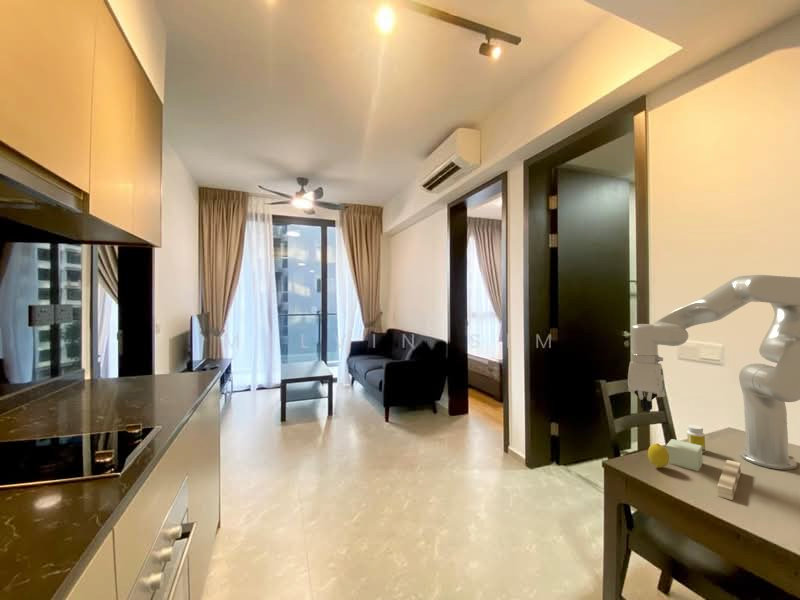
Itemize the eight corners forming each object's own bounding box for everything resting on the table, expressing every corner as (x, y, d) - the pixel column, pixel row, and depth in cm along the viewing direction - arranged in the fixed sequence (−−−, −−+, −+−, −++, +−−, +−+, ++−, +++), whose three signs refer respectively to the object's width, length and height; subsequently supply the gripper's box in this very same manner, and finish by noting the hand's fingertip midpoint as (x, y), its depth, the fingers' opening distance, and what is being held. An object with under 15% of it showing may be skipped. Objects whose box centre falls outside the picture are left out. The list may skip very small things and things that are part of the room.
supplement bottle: (709, 452, 119) (708, 428, 119) (695, 453, 119) (694, 429, 119) (697, 446, 124) (696, 423, 124) (684, 447, 124) (683, 424, 124)
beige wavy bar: (727, 469, 108) (727, 459, 108) (740, 472, 106) (740, 463, 106) (717, 495, 95) (717, 485, 95) (732, 500, 93) (732, 489, 93)
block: (672, 455, 119) (671, 438, 119) (702, 463, 113) (701, 445, 113) (666, 463, 115) (665, 445, 115) (698, 471, 108) (697, 452, 108)
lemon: (673, 470, 110) (672, 445, 110) (661, 473, 108) (660, 448, 108) (656, 462, 115) (655, 438, 115) (644, 465, 113) (643, 441, 113)
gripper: (673, 359, 117) (675, 412, 118) (624, 355, 129) (625, 403, 129) (668, 363, 113) (670, 418, 113) (617, 358, 124) (618, 408, 124)
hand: (646, 410), depth 121 cm, fingers closed
